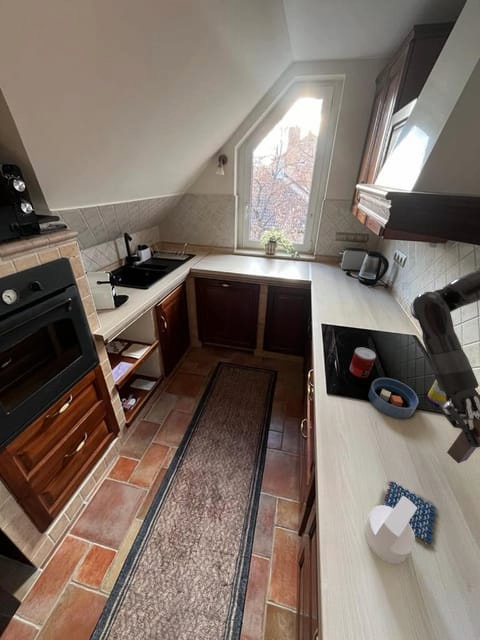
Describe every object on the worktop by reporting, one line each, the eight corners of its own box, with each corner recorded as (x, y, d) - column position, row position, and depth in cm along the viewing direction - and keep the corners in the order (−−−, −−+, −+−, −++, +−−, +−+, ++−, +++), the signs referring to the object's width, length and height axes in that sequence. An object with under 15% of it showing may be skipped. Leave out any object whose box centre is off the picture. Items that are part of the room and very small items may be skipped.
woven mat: (388, 481, 70) (390, 477, 69) (433, 509, 64) (436, 505, 63) (378, 514, 63) (380, 510, 62) (428, 550, 57) (431, 546, 56)
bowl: (411, 396, 98) (416, 386, 95) (414, 426, 86) (420, 415, 83) (368, 383, 104) (372, 373, 101) (366, 409, 92) (370, 398, 89)
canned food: (363, 382, 104) (371, 361, 98) (345, 372, 109) (351, 351, 104) (371, 374, 108) (379, 353, 103) (353, 364, 114) (360, 344, 108)
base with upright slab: (374, 508, 64) (389, 483, 58) (412, 545, 58) (433, 520, 52) (354, 534, 60) (369, 509, 54) (393, 577, 53) (414, 554, 47)
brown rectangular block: (455, 449, 66) (477, 418, 60) (466, 460, 63) (491, 429, 57) (446, 452, 65) (468, 421, 59) (458, 463, 63) (482, 432, 57)
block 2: (397, 402, 95) (400, 396, 93) (400, 408, 92) (403, 402, 90) (388, 400, 95) (391, 394, 94) (391, 406, 93) (393, 401, 91)
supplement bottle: (438, 394, 99) (453, 368, 93) (451, 407, 94) (468, 381, 87) (422, 394, 99) (435, 369, 92) (434, 408, 93) (449, 382, 87)
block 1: (388, 398, 96) (391, 392, 95) (387, 402, 94) (389, 397, 93) (380, 394, 98) (382, 388, 96) (378, 399, 96) (380, 393, 94)
